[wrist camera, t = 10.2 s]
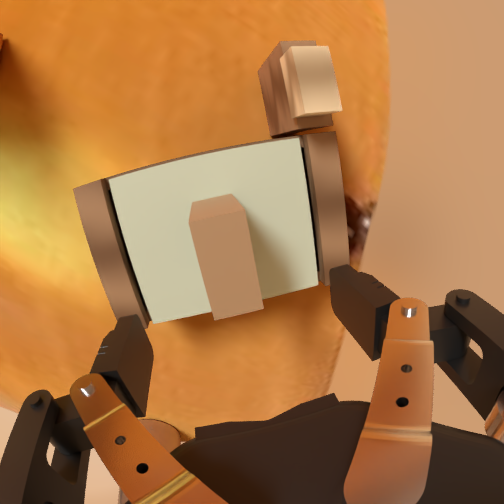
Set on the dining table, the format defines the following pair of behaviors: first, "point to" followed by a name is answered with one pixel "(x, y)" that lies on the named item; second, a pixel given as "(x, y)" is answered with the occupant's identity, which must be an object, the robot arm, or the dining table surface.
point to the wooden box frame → (280, 122)
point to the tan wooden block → (310, 81)
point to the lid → (218, 230)
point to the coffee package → (1, 41)
